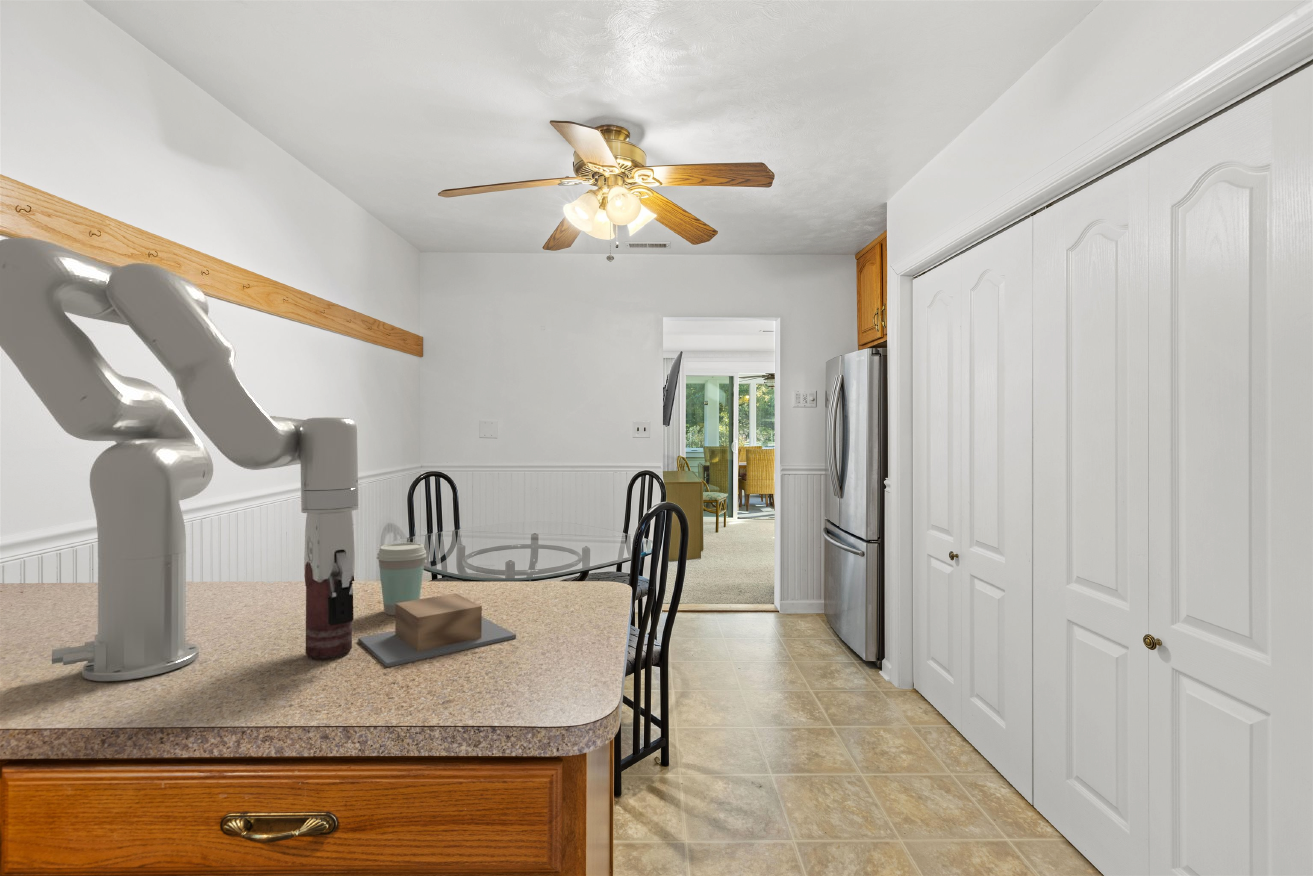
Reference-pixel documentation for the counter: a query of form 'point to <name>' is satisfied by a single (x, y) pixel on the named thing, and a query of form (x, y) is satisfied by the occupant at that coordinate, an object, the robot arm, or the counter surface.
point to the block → (438, 621)
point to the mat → (399, 652)
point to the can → (323, 623)
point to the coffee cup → (400, 573)
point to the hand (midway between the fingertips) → (332, 615)
